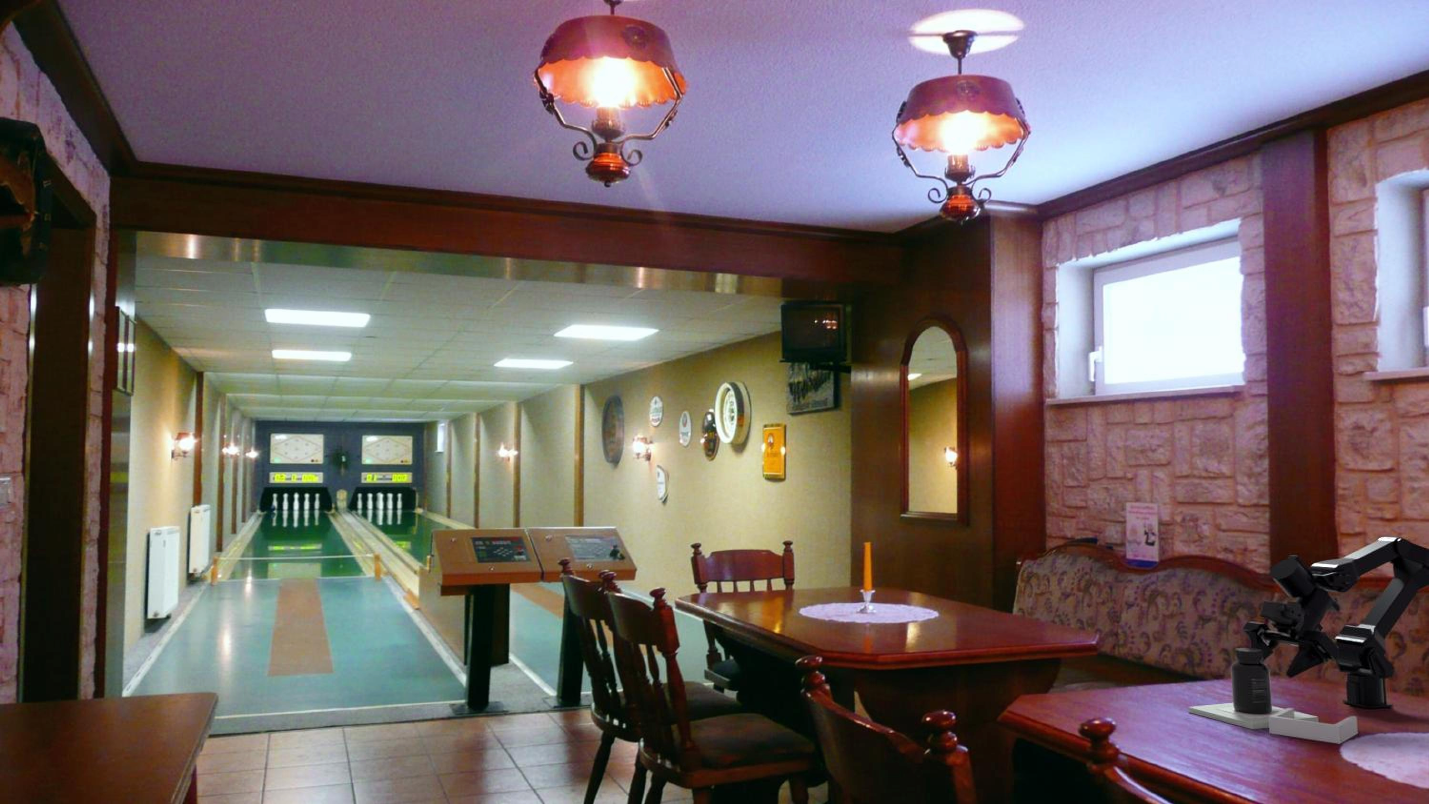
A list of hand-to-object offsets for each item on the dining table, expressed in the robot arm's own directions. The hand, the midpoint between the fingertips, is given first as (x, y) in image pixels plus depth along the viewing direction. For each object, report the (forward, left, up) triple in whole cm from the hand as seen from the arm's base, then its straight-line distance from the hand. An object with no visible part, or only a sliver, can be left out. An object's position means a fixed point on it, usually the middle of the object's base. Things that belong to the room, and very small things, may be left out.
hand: (1268, 672), depth 203 cm
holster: (+3, +15, -8) cm, 17 cm away
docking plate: (+5, +1, -8) cm, 10 cm away
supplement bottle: (+5, +1, -7) cm, 9 cm away
